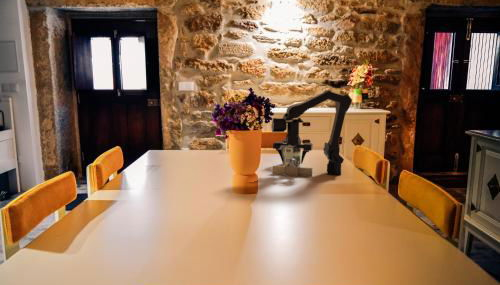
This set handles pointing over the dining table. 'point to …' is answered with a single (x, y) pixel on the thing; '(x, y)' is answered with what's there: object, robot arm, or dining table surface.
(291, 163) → the pin
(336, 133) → the robot arm
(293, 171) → the wooden box with arms
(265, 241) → the dining table surface
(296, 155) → the coffee can
